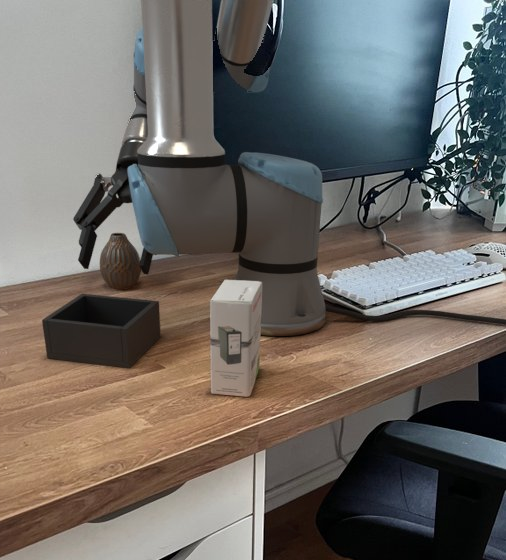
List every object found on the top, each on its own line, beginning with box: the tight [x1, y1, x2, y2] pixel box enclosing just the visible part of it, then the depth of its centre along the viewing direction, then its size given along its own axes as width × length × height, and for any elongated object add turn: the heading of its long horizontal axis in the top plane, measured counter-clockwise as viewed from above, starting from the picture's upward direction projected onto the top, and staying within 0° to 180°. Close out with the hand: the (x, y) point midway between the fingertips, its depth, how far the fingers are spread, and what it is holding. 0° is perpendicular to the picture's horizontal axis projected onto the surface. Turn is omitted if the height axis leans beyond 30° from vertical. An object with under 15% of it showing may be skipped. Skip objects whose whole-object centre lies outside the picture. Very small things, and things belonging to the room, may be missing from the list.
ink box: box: [209, 279, 262, 398], centre depth 83 cm, size 9×5×12 cm, turn 171°
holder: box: [41, 293, 162, 369], centre depth 93 cm, size 12×12×5 cm
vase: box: [99, 232, 142, 290], centre depth 117 cm, size 7×7×9 cm
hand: (113, 267), depth 114 cm, fingers open, 10 cm apart
